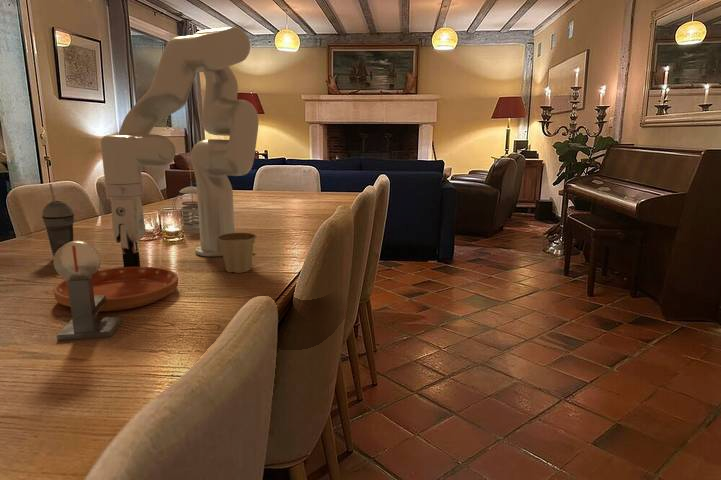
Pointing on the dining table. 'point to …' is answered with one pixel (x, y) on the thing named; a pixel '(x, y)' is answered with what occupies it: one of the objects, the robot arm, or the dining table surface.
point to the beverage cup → (58, 223)
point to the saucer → (126, 287)
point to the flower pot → (237, 251)
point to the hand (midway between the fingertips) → (132, 269)
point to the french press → (189, 210)
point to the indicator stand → (82, 292)
